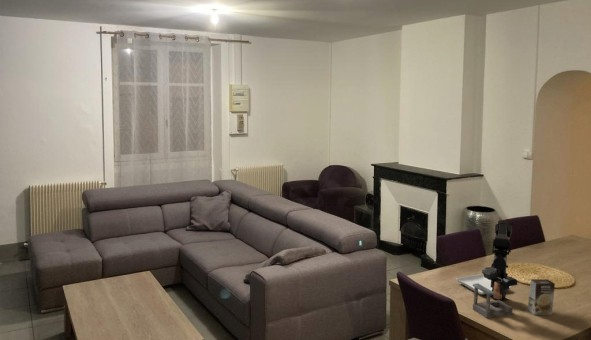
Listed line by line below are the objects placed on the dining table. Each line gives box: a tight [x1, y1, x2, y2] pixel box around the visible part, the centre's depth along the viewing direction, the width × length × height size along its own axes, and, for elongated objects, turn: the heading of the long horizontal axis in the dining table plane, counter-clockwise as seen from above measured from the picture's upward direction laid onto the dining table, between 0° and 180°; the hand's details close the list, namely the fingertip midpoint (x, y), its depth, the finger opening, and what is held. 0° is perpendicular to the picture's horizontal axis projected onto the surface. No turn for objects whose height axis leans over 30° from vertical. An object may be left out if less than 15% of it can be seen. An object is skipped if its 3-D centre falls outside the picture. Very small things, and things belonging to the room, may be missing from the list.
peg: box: [493, 281, 502, 300], centre depth 245 cm, size 4×4×8 cm
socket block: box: [472, 283, 514, 319], centre depth 244 cm, size 16×12×13 cm
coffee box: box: [527, 278, 556, 316], centre depth 243 cm, size 9×6×16 cm
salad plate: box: [455, 273, 512, 295], centre depth 275 cm, size 21×21×3 cm
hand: (498, 292), depth 245 cm, fingers closed on peg, 4 cm apart
